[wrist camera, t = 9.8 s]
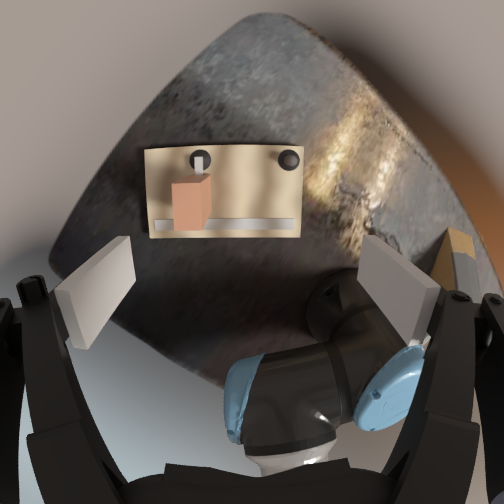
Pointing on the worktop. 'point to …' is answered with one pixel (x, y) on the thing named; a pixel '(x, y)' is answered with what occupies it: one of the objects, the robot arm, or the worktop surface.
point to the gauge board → (230, 189)
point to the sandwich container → (457, 265)
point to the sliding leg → (192, 200)
